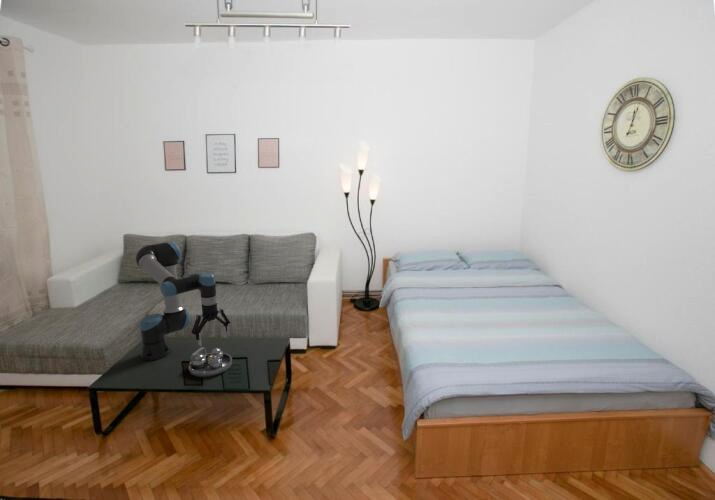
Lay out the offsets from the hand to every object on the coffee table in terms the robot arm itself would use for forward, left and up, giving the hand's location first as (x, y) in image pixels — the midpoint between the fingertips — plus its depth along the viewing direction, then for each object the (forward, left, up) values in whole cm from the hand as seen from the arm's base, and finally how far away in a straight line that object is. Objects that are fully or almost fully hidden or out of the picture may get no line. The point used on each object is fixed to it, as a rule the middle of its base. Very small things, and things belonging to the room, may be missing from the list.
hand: (212, 341), depth 210 cm
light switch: (-13, -3, -17) cm, 22 cm away
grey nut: (0, 0, -16) cm, 16 cm away
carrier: (-5, 0, -17) cm, 18 cm away
